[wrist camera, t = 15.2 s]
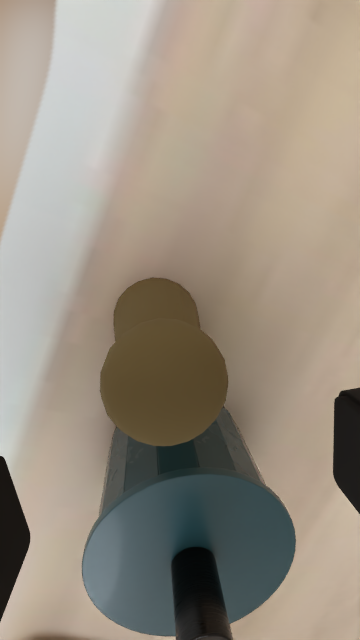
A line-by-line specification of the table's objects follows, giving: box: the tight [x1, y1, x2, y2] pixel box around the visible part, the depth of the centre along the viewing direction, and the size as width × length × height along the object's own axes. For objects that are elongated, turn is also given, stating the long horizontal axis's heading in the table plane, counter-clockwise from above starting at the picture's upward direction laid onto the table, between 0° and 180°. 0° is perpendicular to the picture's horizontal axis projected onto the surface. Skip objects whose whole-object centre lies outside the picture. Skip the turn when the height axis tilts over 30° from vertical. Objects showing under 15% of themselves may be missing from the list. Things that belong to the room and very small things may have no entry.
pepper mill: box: [100, 278, 228, 446], centre depth 16 cm, size 6×6×11 cm
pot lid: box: [82, 467, 296, 640], centre depth 14 cm, size 11×11×5 cm
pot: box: [98, 407, 265, 518], centre depth 20 cm, size 10×10×8 cm
